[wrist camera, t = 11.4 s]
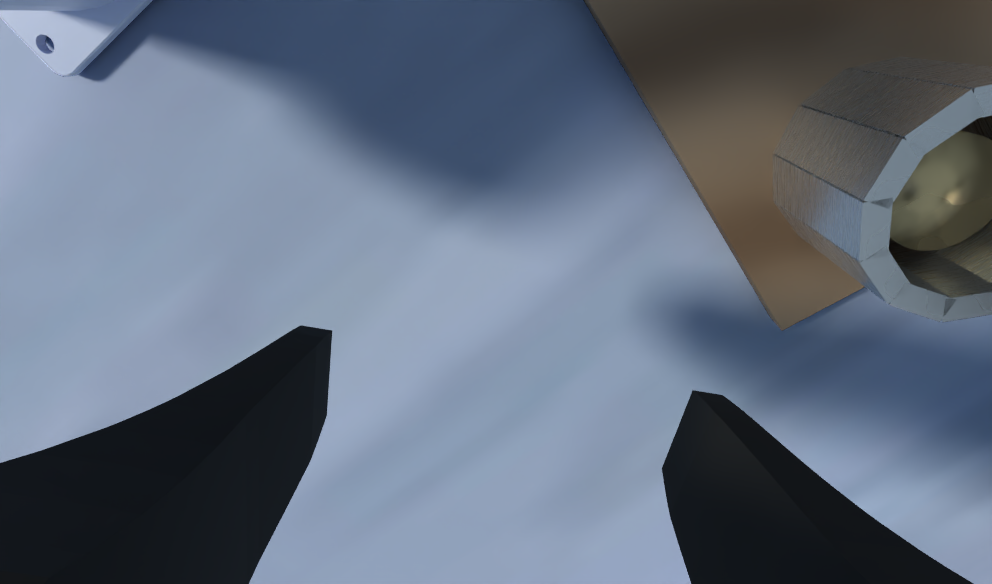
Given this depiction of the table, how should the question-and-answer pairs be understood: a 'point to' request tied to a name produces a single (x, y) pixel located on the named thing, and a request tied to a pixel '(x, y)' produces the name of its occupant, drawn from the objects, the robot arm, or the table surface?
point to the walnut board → (769, 104)
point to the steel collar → (885, 179)
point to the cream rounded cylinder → (945, 195)
